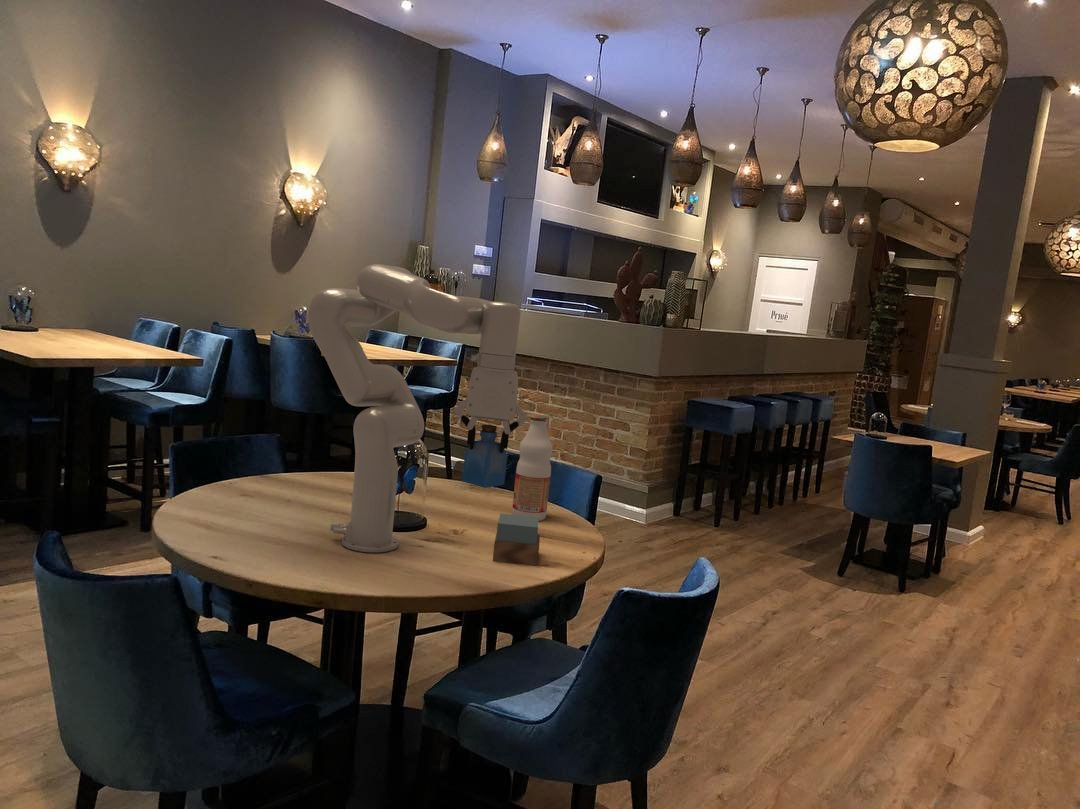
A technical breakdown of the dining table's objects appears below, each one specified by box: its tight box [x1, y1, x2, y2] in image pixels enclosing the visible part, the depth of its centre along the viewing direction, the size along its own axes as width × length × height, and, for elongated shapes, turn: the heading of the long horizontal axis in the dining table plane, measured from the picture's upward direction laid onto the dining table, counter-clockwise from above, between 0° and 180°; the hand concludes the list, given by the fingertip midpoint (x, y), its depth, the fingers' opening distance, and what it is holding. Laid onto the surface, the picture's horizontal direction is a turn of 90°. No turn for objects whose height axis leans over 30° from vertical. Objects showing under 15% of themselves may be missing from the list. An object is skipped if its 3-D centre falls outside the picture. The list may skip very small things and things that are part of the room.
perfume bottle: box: [461, 424, 508, 489], centre depth 176 cm, size 6×6×12 cm
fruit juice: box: [511, 414, 554, 522], centre depth 232 cm, size 9×9×28 cm
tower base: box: [492, 533, 541, 567], centre depth 195 cm, size 10×10×5 cm
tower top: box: [495, 513, 540, 545], centre depth 195 cm, size 9×9×4 cm
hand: (486, 449), depth 176 cm, fingers closed on perfume bottle, 5 cm apart
